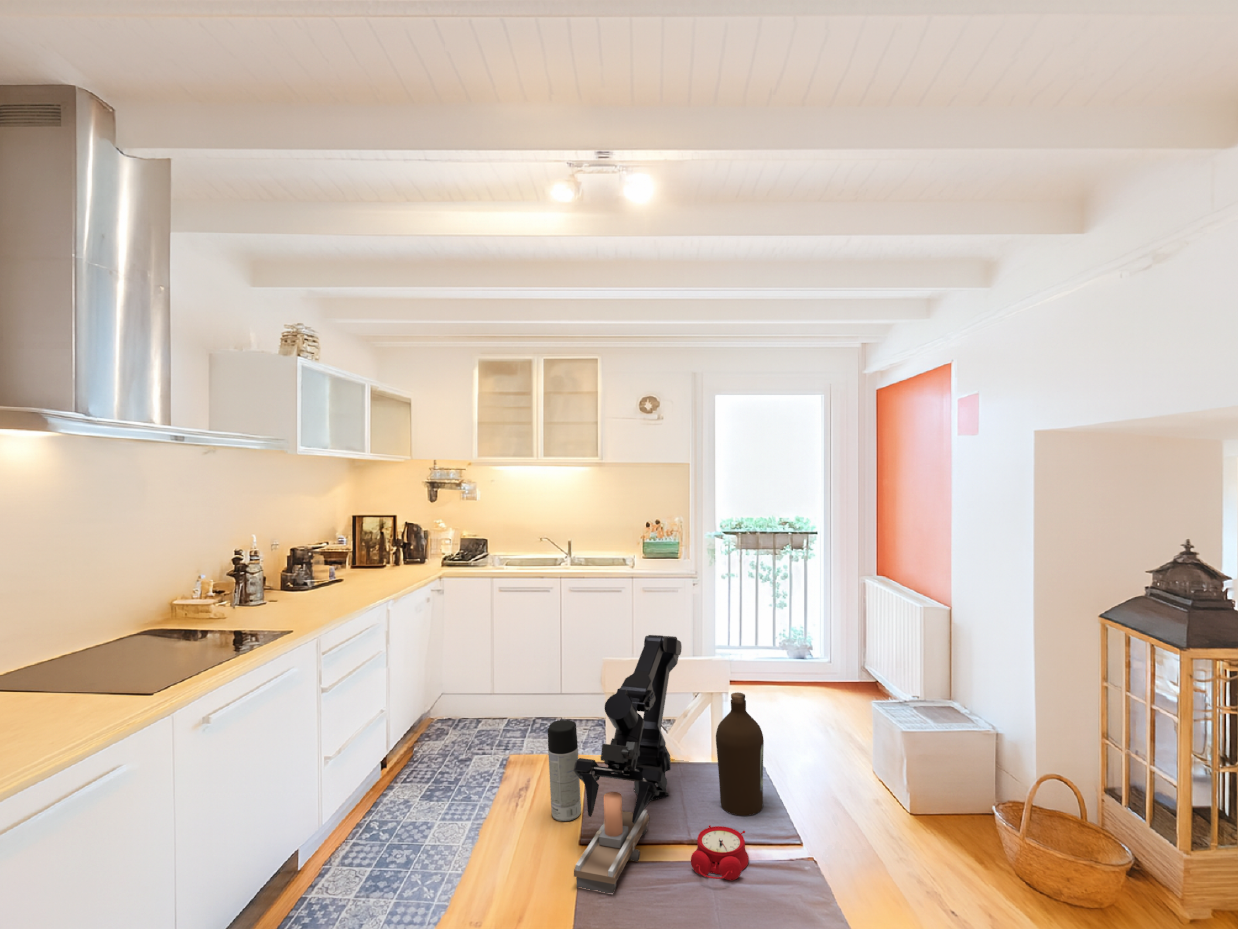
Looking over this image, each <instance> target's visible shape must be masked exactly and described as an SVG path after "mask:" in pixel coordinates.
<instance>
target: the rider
mask: <svg viewBox="0 0 1238 929" xmlns="http://www.w3.org/2000/svg"><path fill="white" fill-rule="evenodd" d="M622 796H623V795H622V793H621V792H618V791H609V792H606V793H605V794H603V820H604V821H603V823H604V827H605V828H604V830H603V831H602V833H601V834H600V836H599V845H603V846H609V847H615V848H621V847H622V845H623V843H624V841H625V840H626V838H627V836H628V826H623V822H622V811H623V799H622V798H623V797H622Z"/></svg>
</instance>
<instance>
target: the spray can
mask: <svg viewBox="0 0 1238 929" xmlns="http://www.w3.org/2000/svg"><path fill="white" fill-rule="evenodd" d="M577 732H578V730H577V723H576V722H575V721H573V720H570V719H559V720H555V721H553V722H551V723H550V724H549V726H548V729H547V747H548V748H547V752H548V753H547V755H548V769H549V770H548V772H549V788H550V806H551V808H550V809H551V810H550V811H551V816H552V818H553V819H554V820H556V821H559V822H568V821H569V822H570V821H573V820H575V819H576V818H578V817H579V816H580V815H581V813H582V800H581V782H580V781H581V780H580V778H579V777H578V776H577V775H576V773H575V772H574V771H573V770H574V766H575V762H576V761H577V760H578V759H579V745H578V744H579V743H578V734H577Z"/></svg>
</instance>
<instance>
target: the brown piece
mask: <svg viewBox="0 0 1238 929" xmlns="http://www.w3.org/2000/svg"><path fill="white" fill-rule="evenodd" d="M632 818H633V812H632V811H631V812H630V811H624V810H622V822H623V826H628V836H627V838H626V840H625V841H624V843H623V845H622V847H621V848H615V847H609V846H603V845H599V836H600V834H601V833H602V831H603V830H604V828H605V827H604V822H603V823H602V825H601V826H600V827H599V829H598V830H597V831H596V832H595V835H594V836H593V838H592V839H591V840H590V843H588V845H587V847H586V848H585V850H584V851H583V853H582V855H580V857H579V859H578V860H577V862H576V863H575V867H574V868H573V877H574V878H575V879H576V888H577V889H579V888H578V887H582V888H586V889H590V890H598V891H601V892H605V893H613V892H615V891H616V889H617V881H618V880H619V878H620V876H621V873H622V872H623V870H624V868H625V866H626V864H627V862H628V861H631V862H637V863H638V862H639V861H640V857H641V852H640V850H639V849H636V847H637V844H638V842H639V840H640V838H641V836H643V835H644V836H645V835H646V833H647V831H648V824H649V822H650V815H649V814H648V809H644V810H643V812H642V813H641V815H640V817H639V818H638V820H637V821H636V823H635V824H633V822H632ZM590 890H589V891H590ZM614 890H615V891H614ZM605 893H604V894H605ZM613 894H614V893H613Z"/></svg>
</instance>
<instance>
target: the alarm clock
mask: <svg viewBox="0 0 1238 929" xmlns="http://www.w3.org/2000/svg"><path fill="white" fill-rule="evenodd" d="M742 834H746V831H745V830H743V831H742V832H739V831H738V830H737V829H733V828H731V827H728V826H719V825H718V826H716V825H715V826H711V825H710V824H709V825H708V827H707V828H704V829H703V830H701V831H700V832H699V833H698V835H697V839H696V843H697V845H696V850H695V851H694V852H692V853H691V856H690V866H691V867H692V869H693V871H694V872H695V873H696V874H697V873H698V875H699V874H700V876H703V877H706V878H709V879H714V880H715V879H716V880H721V879H724V880H726V881H735V880H737V879H738V878H740V876H741V874H742V871H744V869H745V868H747V866H748V864H749V862H750V859H749V854H748V852H747V850H746V841H745V837H744V836H743V835H742ZM713 873H715V874H714V875H719V877H718V876H710V875H708V874H713Z"/></svg>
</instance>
